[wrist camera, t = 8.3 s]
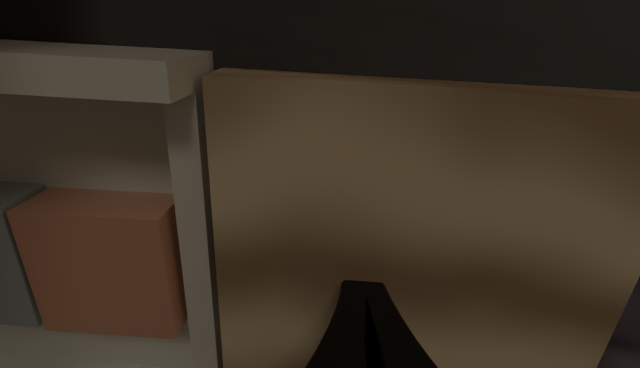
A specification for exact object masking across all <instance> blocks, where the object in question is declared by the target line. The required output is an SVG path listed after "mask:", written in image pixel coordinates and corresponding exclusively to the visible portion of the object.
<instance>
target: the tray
mask: <svg viewBox="0 0 640 368" xmlns="http://www.w3.org/2000/svg"><path fill="white" fill-rule="evenodd" d="M213 71H214V66H213V51H202V50H184V49H166V48H148V47H130V46H112V45H94V44H76V43H58V42H40V41H23V40H5V39H0V181H9V182H24V183H39V184H45V186H46V189H47V188H49V187H59V188H78V189H97V190H115V191H134V192H153V193H172V194H173V196H174V205H175V214H176V222H177V231H178V239H179V248H180V256H181V265H182V273H183V282H184V290H185V299H186V307H187V316H188V318H187V320H186V322H185V324H184V326H183V328H182V330H181V332H180V334H179V336H178V338H177V339H165V338H150V337H135V336H121V335H106V334H91V333H76V332H62V331H47V330H45V328H44V325H43V324H42V325H41V326H40V327H39V328H37V327H24V326H12V325H0V368H223V357H222V344H221V330H220V317H219V303H218V290H217V276H216V262H215V249H214V235H213V222H212V208H211V195H210V181H209V168H208V154H207V141H206V127H205V114H204V100H203V87H202V75H205V74H208V73H210V72H213Z"/></svg>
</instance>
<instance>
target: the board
mask: <svg viewBox="0 0 640 368" xmlns="http://www.w3.org/2000/svg"><path fill="white" fill-rule="evenodd" d="M202 87H203V100H204V114H205V127H206V141H207V154H208V168H209V181H210V195H211V208H212V222H213V235H214V249H215V262H216V276H217V290H218V303H219V317H220V330H221V344H222V357H223V368H305V367H306V365H307V364H308V362H309V361H310V359H311V357H312V356H313V354H314V352H315V351H316V349H317V347H318V345H319V344H320V342H321V340H322V338H323V336H324V334H325V332H326V330H327V328H328V326H329V324H330V321H331V319H332V316H333V314H334V311H335V309H336V306H337V303H338V300H339V296H340V292H341V283H342V282H343V281H344V280H354V281H369V282H382V283H383V284H384V285H385V287H386V289H387V291H388V293H389V295H390V297H391V299H392V301H393V302H394V304H395V306H396V308H397V309H398V311H399V313H400V315H401V316H402V318H403V319H404V321H405V323H406V324H407V326H408V327H409V329H410V330H411V332H412V333H413V335H414V336H415V338H416V339H417V341H418V342H419V343H420V345H421V346H422V347H423V349H424V350H425V352H426V353H427V354H428V356H429V357H430V358H431V359H432V361H433V362H434V363H435V364H436V366H437V367H438V368H597V366H598V363H599V361H600V359H601V357H602V355H603V353H604V351H605V349H606V346H607V344H608V342H609V340H610V338H611V336H612V334H613V332H614V329H615V327H616V325H617V323H618V321H619V319H620V317H621V315H622V312H623V310H624V308H625V306H626V304H627V302H628V300H629V298H630V295H631V293H632V291H633V289H634V287H635V285H636V283H637V281H638V278H639V276H640V92H638V91H620V90H603V89H585V88H568V87H550V86H533V85H515V84H498V83H480V82H463V81H445V80H428V79H410V78H393V77H375V76H358V75H340V74H323V73H305V72H288V71H270V70H253V69H235V68H221V69H218V70H216V71H213V72H210V73H208V74H205V75H202Z"/></svg>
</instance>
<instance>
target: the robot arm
mask: <svg viewBox="0 0 640 368" xmlns="http://www.w3.org/2000/svg"><path fill="white" fill-rule="evenodd" d="M305 368H438V367H437V366H436V364H435V363H434V362H433V361H432V359H431V358H430V357H429V356H428V354H427V353H426V352H425V350H424V349H423V347H422V346H421V345H420V343H419V342H418V341H417V339H416V338H415V336H414V335H413V333H412V332H411V330H410V329H409V327H408V326H407V324H406V323H405V321H404V319H403V318H402V316H401V315H400V313H399V311H398V309H397V308H396V306H395V304H394V302H393V301H392V299H391V297H390V295H389V293H388V291H387V289H386V287H385V285H384V284H383V283H382V282H369V281H354V280H344V281H343V282H342V283H341V292H340V296H339V300H338V303H337V306H336V309H335V311H334V314H333V316H332V319H331V321H330V324H329V326H328V328H327V330H326V332H325V334H324V336H323V338H322V340H321V342H320V344H319V345H318V347H317V349H316V351H315V352H314V354H313V356H312V357H311V359H310V361H309V362H308V364H307V365H306V367H305Z"/></svg>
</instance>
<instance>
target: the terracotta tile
mask: <svg viewBox="0 0 640 368" xmlns="http://www.w3.org/2000/svg"><path fill="white" fill-rule="evenodd" d="M6 215H7V218H8V221H9V224H10V227H11V230H12V232H13V235H14V238H15V241H16V244H17V247H18V250H19V253H20V256H21V259H22V262H23V265H24V268H25V271H26V274H27V277H28V280H29V283H30V286H31V289H32V292H33V295H34V298H35V301H36V304H37V307H38V310H39V313H40V316H41V319H42V322H43V325H44V328H45V330H47V331H62V332H76V333H91V334H106V335H121V336H135V337H150V338H165V339H177V338H178V336H179V334H180V332H181V330H182V328H183V326H184V324H185V322H186V320H187V318H188V316H187V307H186V299H185V290H184V282H183V273H182V265H181V256H180V248H179V239H178V231H177V222H176V214H175V205H174V196H173V194H172V193H153V192H134V191H115V190H97V189H78V188H59V187H49V188H47V189H45V190H44V191H42V192H40V193H38V194H37V195H35V196H33V197H31V198H29V199H28V200H26V201H24V202H22V203H21V204H19V205H17V206H15V207H13V208H12V209H10V210H8V211H6Z"/></svg>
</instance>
